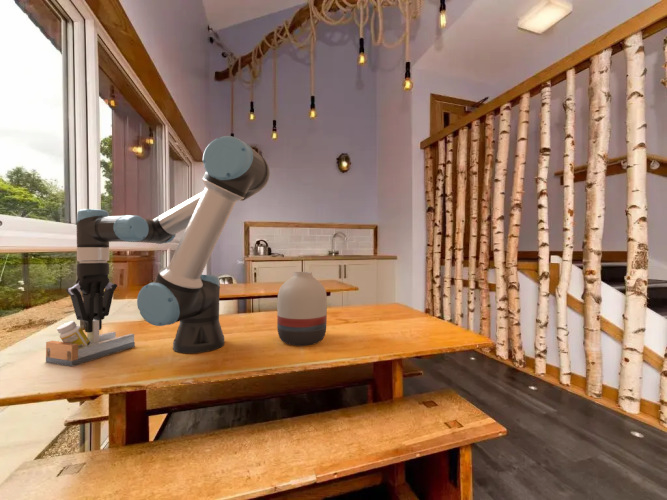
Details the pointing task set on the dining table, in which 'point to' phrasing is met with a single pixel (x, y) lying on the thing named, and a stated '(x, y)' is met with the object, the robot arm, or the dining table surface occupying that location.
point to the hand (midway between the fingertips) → (93, 342)
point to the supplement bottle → (73, 334)
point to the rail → (87, 349)
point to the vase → (302, 310)
